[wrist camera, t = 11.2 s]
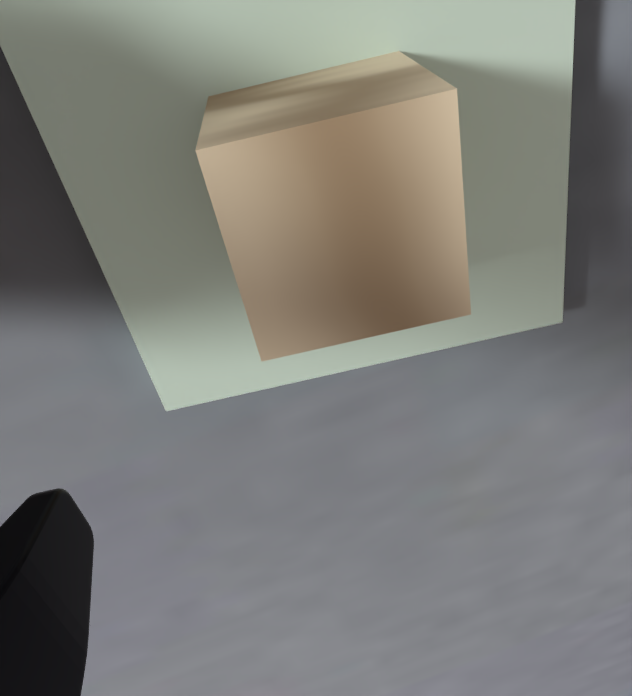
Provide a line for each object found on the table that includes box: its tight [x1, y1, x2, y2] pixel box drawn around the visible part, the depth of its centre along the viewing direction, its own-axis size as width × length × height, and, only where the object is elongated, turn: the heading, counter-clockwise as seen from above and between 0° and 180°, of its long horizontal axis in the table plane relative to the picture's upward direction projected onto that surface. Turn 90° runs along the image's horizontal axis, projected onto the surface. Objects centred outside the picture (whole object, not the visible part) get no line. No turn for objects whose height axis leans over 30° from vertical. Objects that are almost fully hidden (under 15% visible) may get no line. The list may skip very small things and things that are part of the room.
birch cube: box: [195, 51, 471, 362], centre depth 15 cm, size 5×5×5 cm
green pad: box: [0, 0, 575, 411], centre depth 17 cm, size 14×14×1 cm
